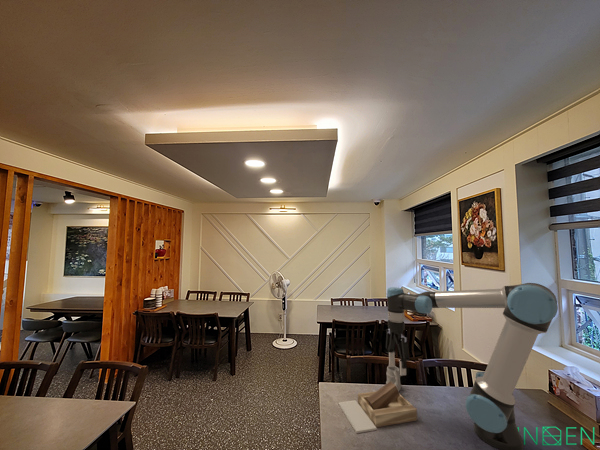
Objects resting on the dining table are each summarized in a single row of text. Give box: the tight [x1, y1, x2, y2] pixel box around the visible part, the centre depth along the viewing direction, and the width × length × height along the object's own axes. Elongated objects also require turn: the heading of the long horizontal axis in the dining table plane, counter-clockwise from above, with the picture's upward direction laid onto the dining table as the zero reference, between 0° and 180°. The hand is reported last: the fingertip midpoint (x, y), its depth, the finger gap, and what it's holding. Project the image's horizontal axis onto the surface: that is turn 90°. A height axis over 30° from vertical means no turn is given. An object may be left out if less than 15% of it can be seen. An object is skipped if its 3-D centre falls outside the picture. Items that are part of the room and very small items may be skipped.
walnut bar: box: [367, 381, 401, 410], centre depth 110 cm, size 4×14×5 cm, turn 103°
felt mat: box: [338, 399, 378, 434], centre depth 106 cm, size 19×9×1 cm, turn 13°
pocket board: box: [357, 390, 418, 428], centre depth 110 cm, size 16×20×4 cm
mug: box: [385, 365, 402, 392], centre depth 128 cm, size 8×12×12 cm, turn 175°
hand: (397, 370), depth 113 cm, fingers open, 8 cm apart
